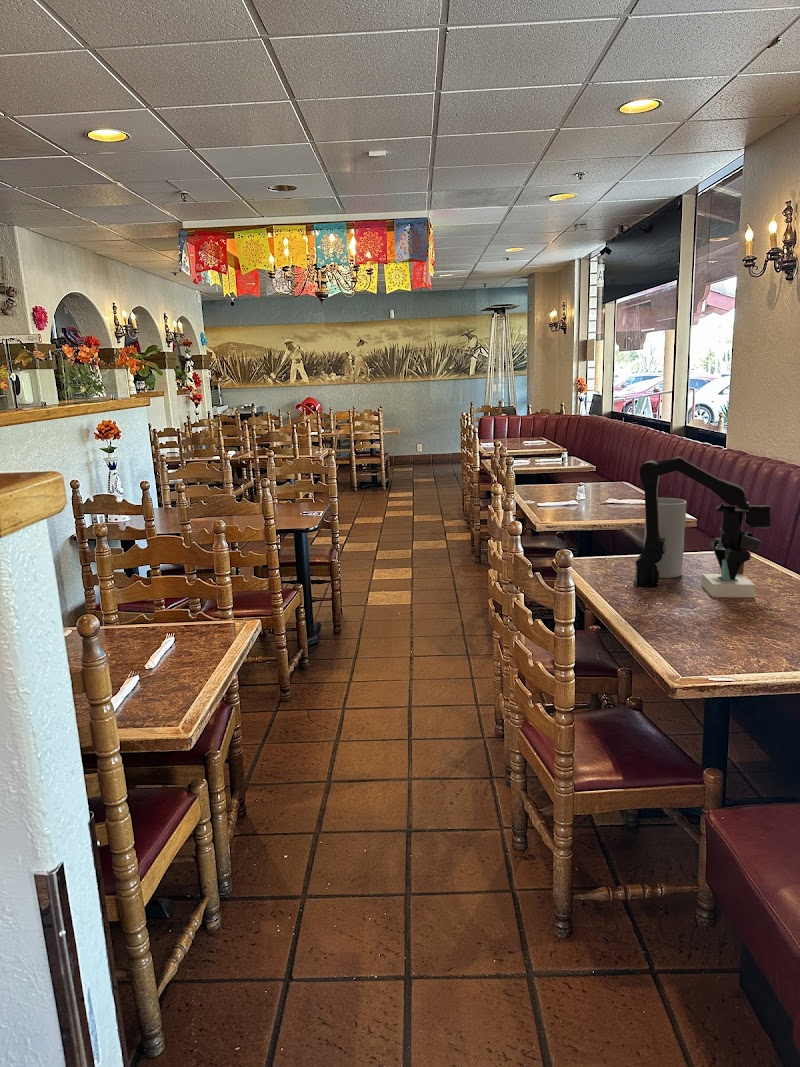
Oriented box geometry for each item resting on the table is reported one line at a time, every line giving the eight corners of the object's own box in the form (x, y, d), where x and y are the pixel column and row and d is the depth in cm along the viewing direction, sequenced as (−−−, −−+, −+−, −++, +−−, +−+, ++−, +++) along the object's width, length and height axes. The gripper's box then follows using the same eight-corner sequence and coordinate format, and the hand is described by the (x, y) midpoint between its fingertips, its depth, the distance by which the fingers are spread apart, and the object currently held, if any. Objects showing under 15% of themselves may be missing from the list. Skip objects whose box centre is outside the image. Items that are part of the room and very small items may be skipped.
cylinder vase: (677, 569, 253) (681, 497, 247) (685, 579, 241) (690, 504, 235) (639, 568, 255) (643, 497, 249) (646, 578, 242) (650, 504, 237)
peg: (723, 590, 225) (725, 562, 223) (720, 587, 228) (722, 559, 226) (734, 590, 224) (736, 562, 222) (731, 587, 227) (733, 559, 226)
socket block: (712, 596, 221) (713, 584, 220) (701, 585, 233) (702, 573, 232) (754, 597, 220) (755, 584, 219) (741, 586, 231) (741, 574, 231)
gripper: (771, 532, 212) (766, 584, 215) (749, 520, 230) (745, 568, 233) (730, 532, 213) (726, 584, 217) (712, 520, 231) (708, 568, 235)
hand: (728, 575), depth 225 cm, fingers open, 8 cm apart
